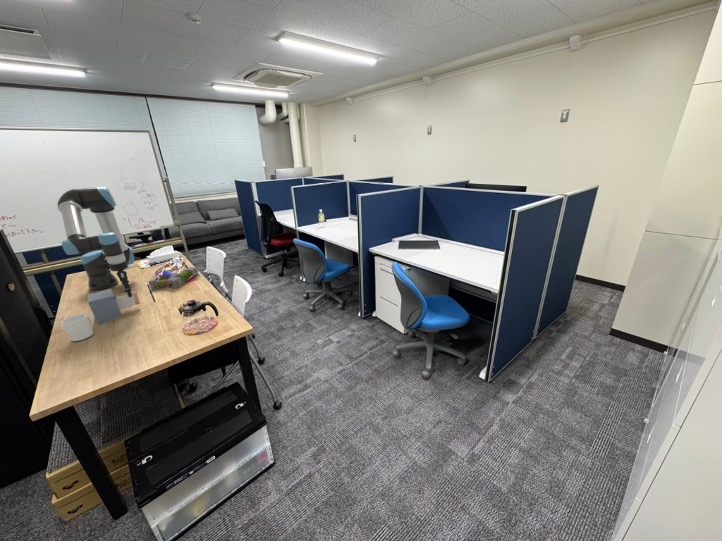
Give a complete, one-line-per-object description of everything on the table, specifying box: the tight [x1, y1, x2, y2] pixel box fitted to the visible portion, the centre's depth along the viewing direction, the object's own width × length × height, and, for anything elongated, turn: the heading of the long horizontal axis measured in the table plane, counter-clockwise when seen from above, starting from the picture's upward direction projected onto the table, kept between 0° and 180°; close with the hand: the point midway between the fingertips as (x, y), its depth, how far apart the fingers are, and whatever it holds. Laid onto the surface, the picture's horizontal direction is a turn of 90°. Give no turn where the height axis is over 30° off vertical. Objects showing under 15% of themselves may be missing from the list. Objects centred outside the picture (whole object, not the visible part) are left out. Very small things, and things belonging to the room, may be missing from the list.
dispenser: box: [87, 288, 122, 325], centre depth 154 cm, size 12×11×13 cm
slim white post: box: [115, 291, 141, 311], centre depth 158 cm, size 1×18×7 cm, turn 133°
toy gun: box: [147, 266, 200, 291], centre depth 196 cm, size 7×27×20 cm
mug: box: [60, 313, 94, 343], centre depth 138 cm, size 11×9×10 cm
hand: (130, 297), depth 161 cm, fingers open, 13 cm apart
